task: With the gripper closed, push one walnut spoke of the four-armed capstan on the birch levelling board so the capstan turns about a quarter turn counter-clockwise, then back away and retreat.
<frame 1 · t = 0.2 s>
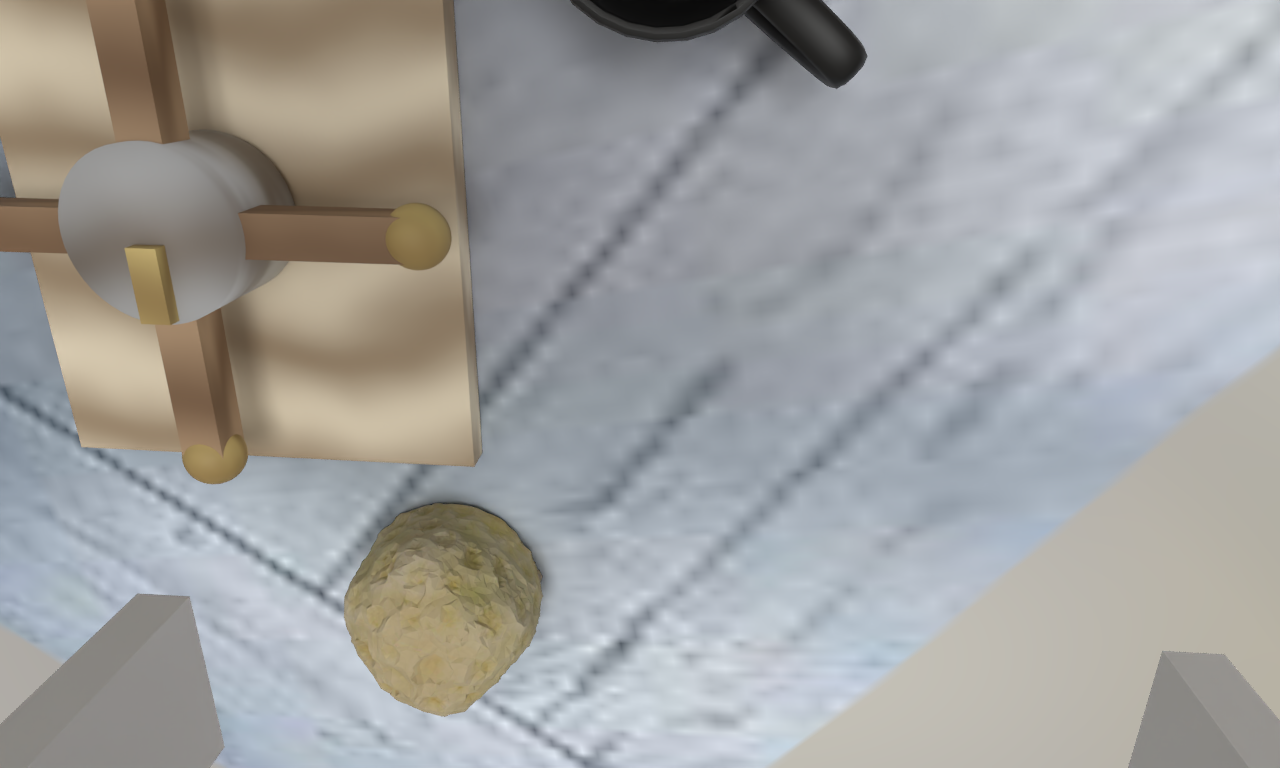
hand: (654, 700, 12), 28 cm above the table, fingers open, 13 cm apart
capstan: (181, 225, 34), point 5 cm above the table, hinge at 0.0°
stand: (243, 160, 38), on the table
decorative object: (463, 566, 45), on the table
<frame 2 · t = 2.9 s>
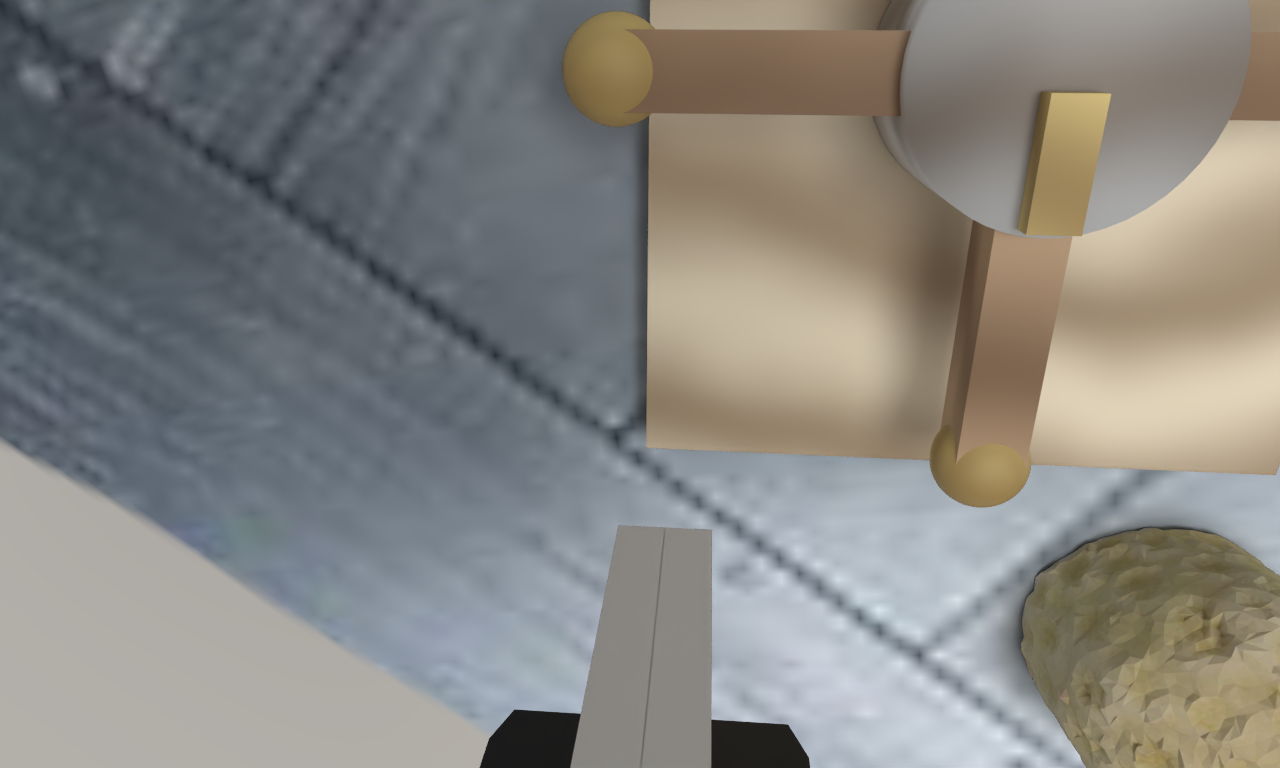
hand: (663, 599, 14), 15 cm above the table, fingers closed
capstan: (1037, 72, 20), point 5 cm above the table, hinge at 0.0°
decorative object: (1147, 617, 31), on the table
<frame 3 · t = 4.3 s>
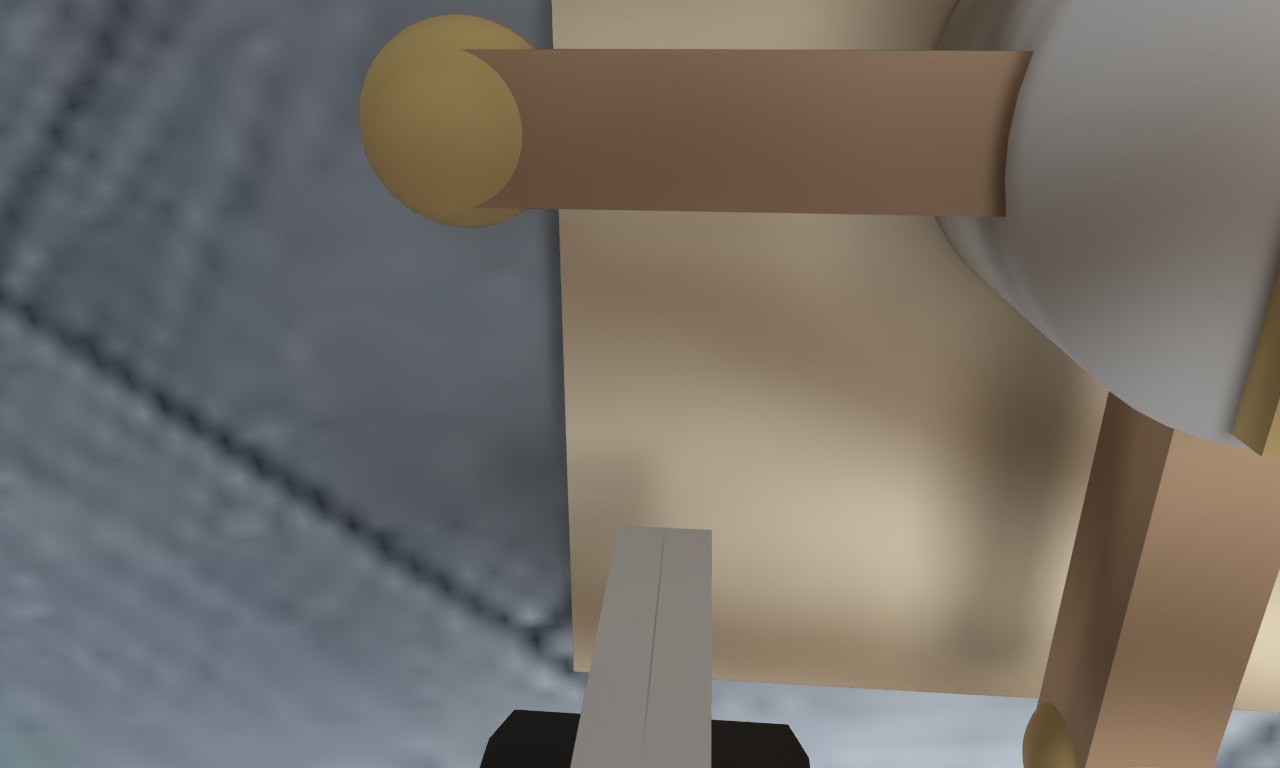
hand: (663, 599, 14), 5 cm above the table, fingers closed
capstan: (1250, 127, 11), point 5 cm above the table, hinge at 0.0°
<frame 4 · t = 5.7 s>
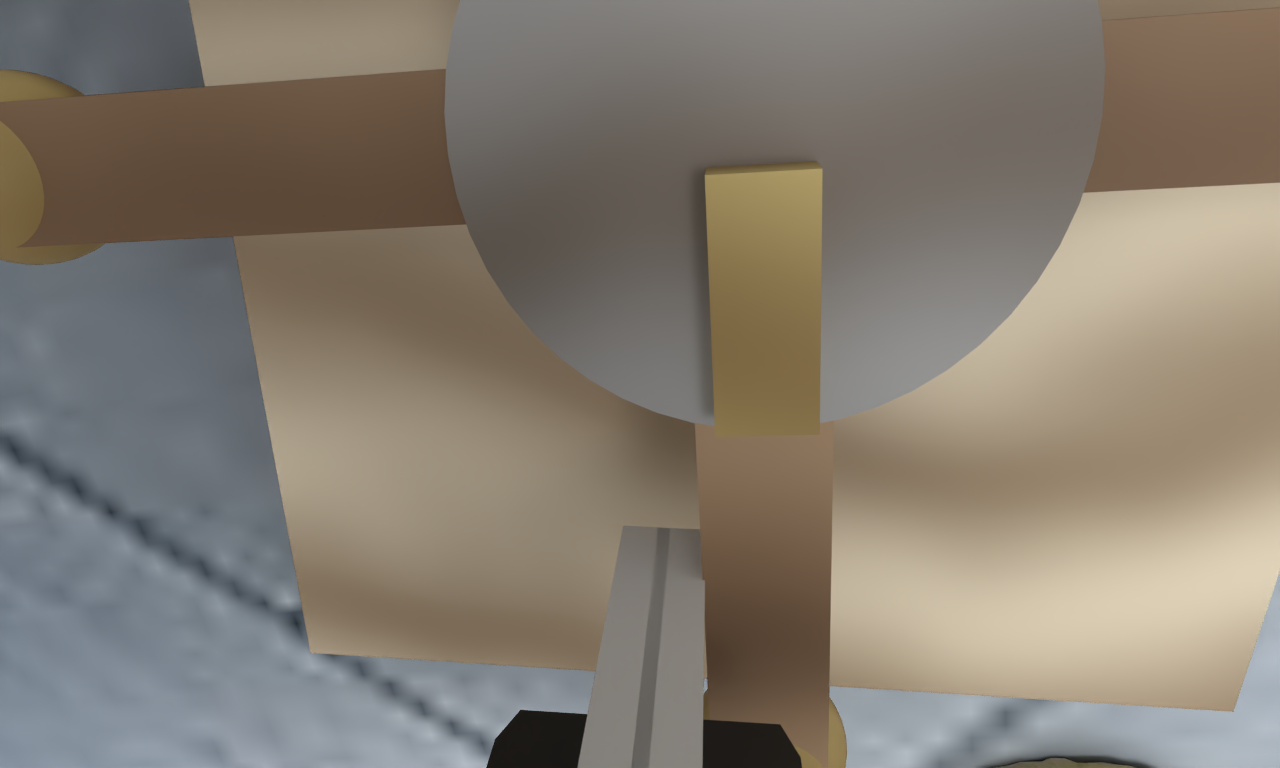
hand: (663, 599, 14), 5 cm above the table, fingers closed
capstan: (754, 119, 11), point 5 cm above the table, hinge at 3.7°, touching gripper
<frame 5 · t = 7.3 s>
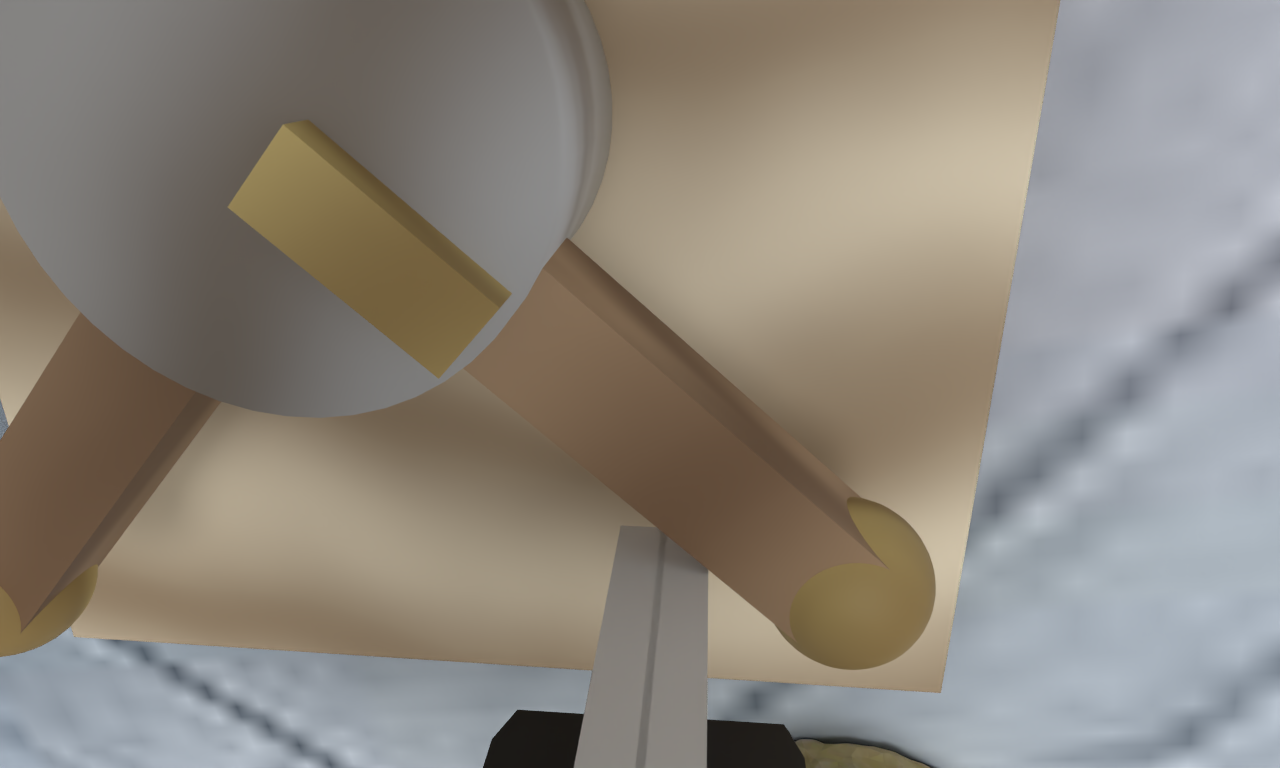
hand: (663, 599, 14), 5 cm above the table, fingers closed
capstan: (339, 124, 12), point 5 cm above the table, hinge at 48.5°, touching gripper
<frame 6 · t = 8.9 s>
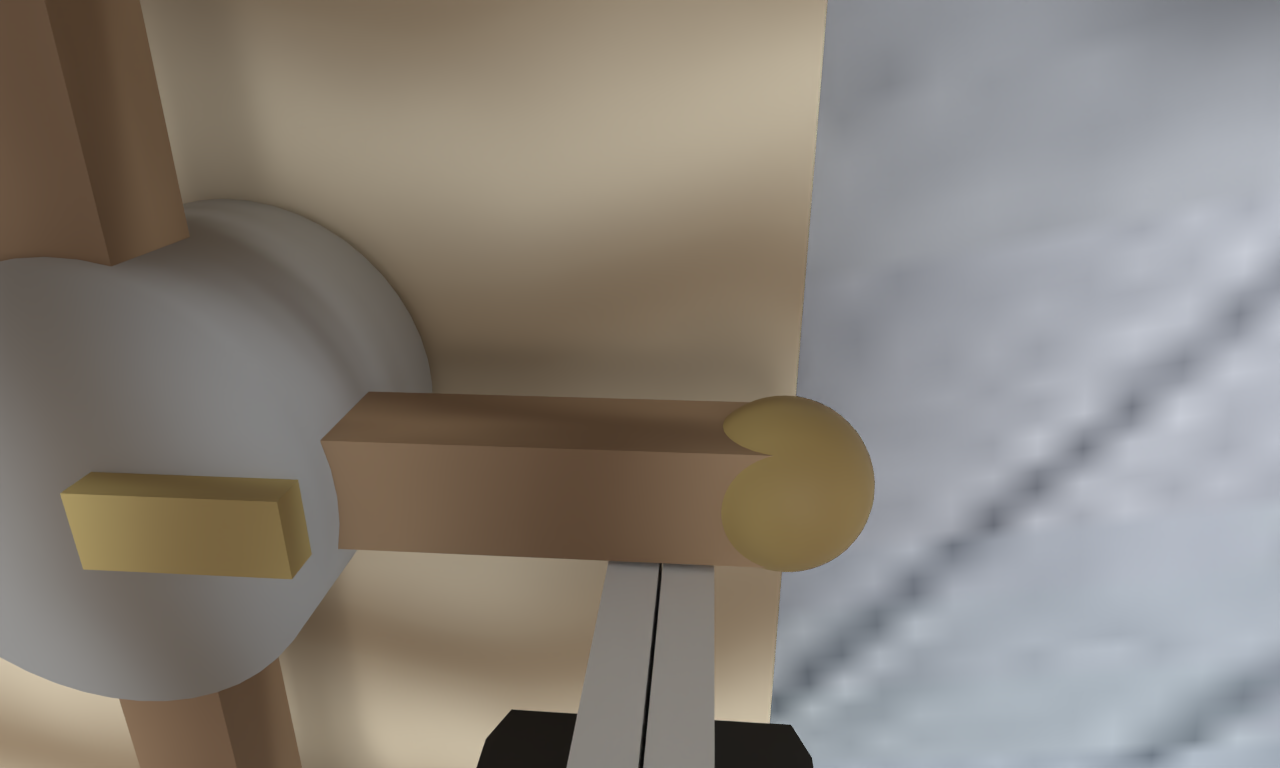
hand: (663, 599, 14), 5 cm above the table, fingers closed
capstan: (173, 440, 14), point 5 cm above the table, hinge at 90.6°, touching gripper
stand: (309, 256, 17), on the table
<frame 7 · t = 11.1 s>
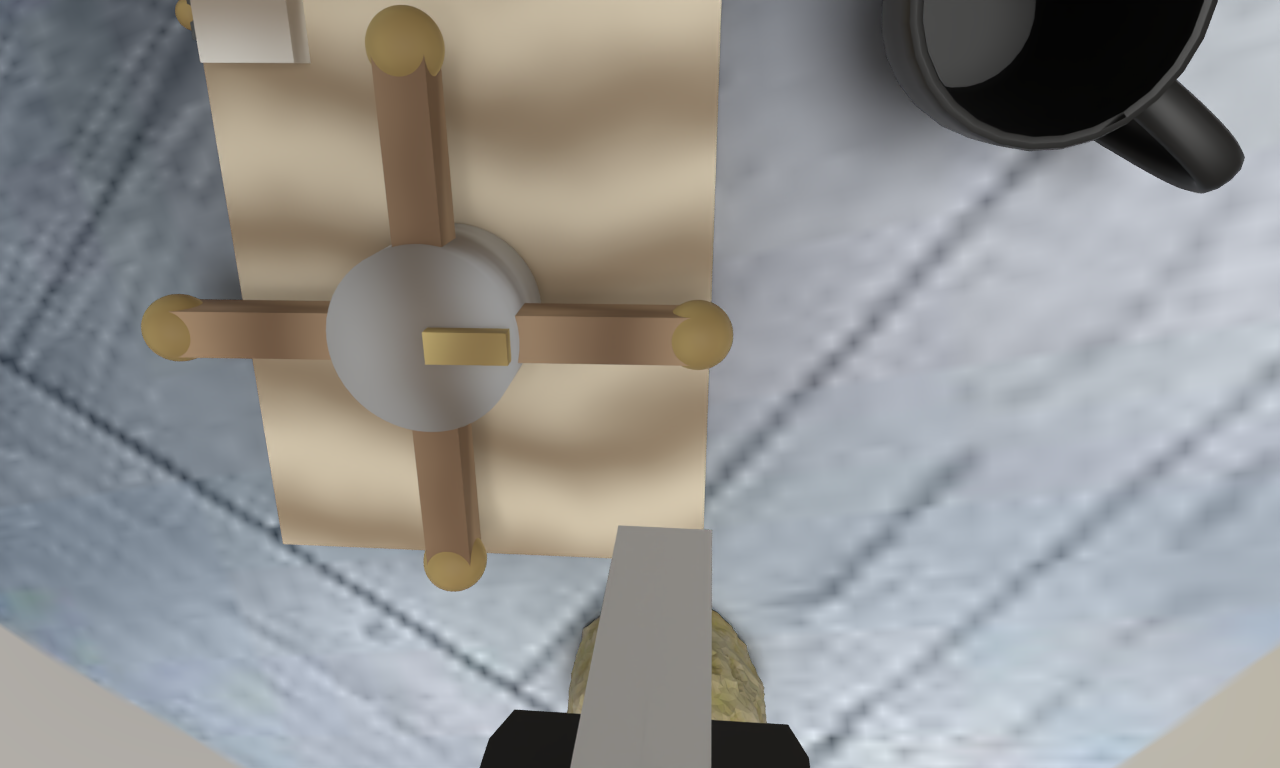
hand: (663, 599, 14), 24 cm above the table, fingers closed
capstan: (438, 326, 33), point 5 cm above the table, hinge at 90.7°
mug: (995, 51, 32), on the table
stand: (478, 251, 36), on the table
decorative object: (669, 659, 43), on the table
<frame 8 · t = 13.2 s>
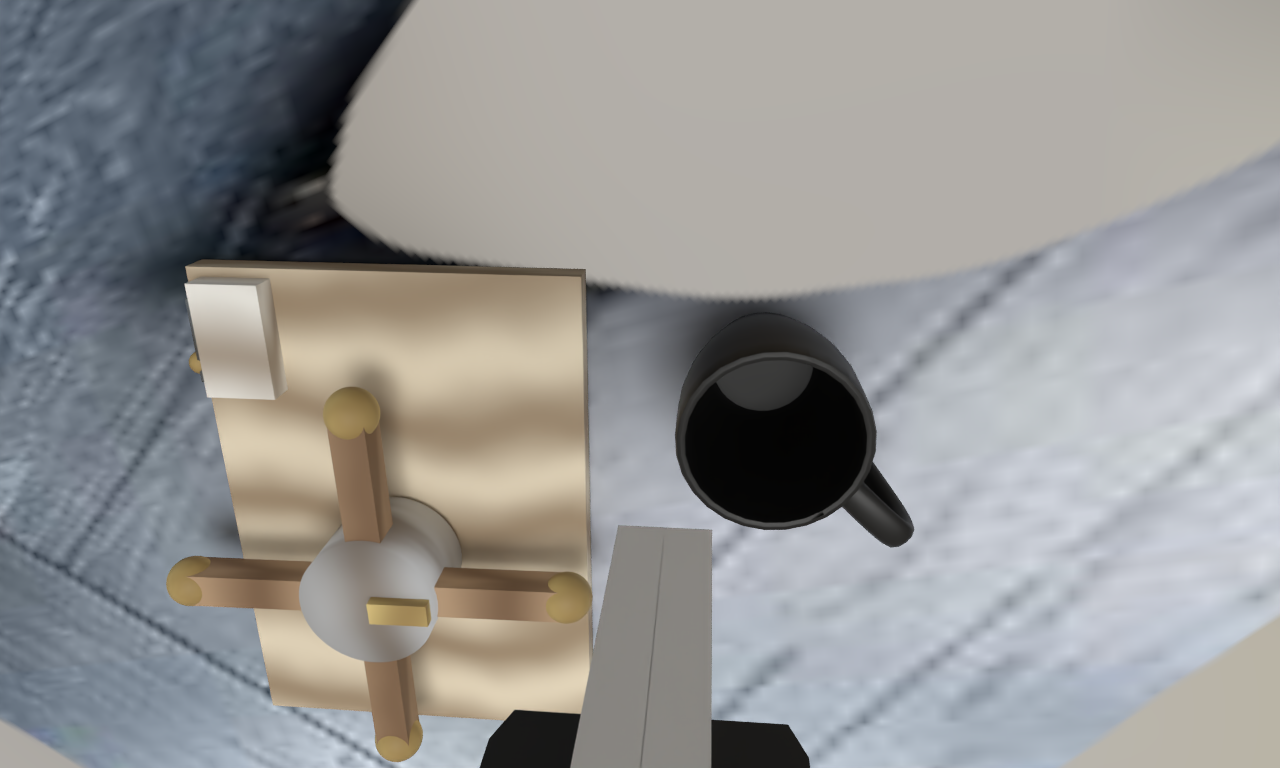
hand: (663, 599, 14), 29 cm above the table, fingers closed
capstan: (382, 581, 45), point 5 cm above the table, hinge at 90.7°
mug: (788, 386, 44), on the table
stand: (416, 504, 48), on the table
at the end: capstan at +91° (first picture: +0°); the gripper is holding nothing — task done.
